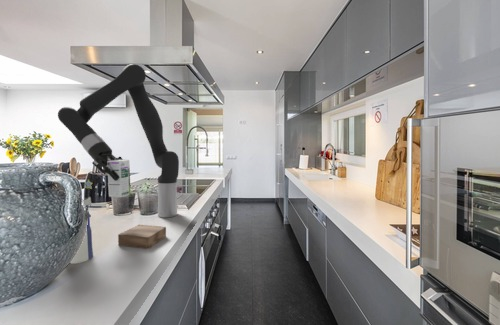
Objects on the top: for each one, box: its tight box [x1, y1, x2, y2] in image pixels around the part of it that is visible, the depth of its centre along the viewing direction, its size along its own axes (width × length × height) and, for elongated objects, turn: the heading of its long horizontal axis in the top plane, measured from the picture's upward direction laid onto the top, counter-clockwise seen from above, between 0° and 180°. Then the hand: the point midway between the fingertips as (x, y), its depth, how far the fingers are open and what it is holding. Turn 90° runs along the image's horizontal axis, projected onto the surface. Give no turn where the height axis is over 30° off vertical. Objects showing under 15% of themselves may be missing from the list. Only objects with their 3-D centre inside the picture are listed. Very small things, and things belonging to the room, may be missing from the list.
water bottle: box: [70, 179, 94, 265], centre depth 81 cm, size 8×9×25 cm
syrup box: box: [107, 159, 132, 198], centre depth 103 cm, size 6×6×14 cm
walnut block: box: [117, 224, 167, 249], centre depth 97 cm, size 12×12×4 cm
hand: (123, 178), depth 102 cm, fingers closed on syrup box, 5 cm apart
